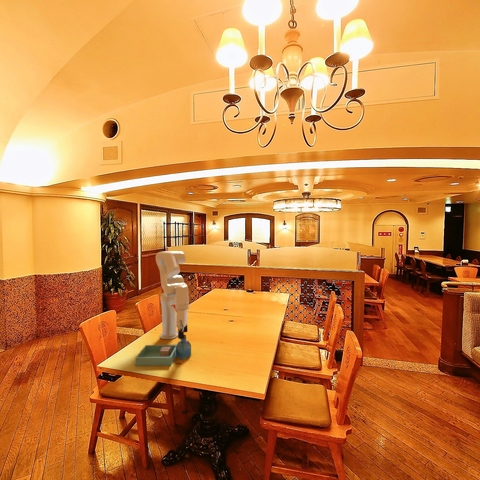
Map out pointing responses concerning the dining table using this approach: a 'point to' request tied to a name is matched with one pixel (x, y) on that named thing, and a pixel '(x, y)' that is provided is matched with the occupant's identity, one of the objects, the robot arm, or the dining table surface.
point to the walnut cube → (165, 352)
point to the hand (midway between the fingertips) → (183, 335)
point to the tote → (155, 356)
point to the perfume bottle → (183, 348)
